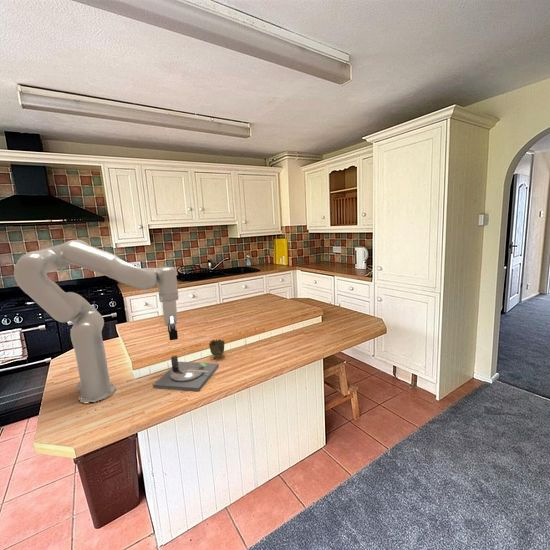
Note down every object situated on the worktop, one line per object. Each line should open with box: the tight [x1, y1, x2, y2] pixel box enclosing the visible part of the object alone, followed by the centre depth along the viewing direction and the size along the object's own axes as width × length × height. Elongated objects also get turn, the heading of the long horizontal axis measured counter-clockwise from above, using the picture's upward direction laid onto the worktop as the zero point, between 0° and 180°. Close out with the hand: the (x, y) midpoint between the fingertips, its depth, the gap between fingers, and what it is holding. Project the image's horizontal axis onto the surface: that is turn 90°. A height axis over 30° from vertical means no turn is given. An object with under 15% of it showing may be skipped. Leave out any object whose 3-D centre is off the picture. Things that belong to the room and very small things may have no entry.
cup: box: [208, 339, 225, 360], centre depth 143 cm, size 8×7×8 cm
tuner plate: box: [152, 361, 220, 392], centre depth 126 cm, size 20×20×2 cm
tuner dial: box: [170, 355, 209, 382], centre depth 125 cm, size 17×14×7 cm
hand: (173, 335), depth 125 cm, fingers open, 9 cm apart
